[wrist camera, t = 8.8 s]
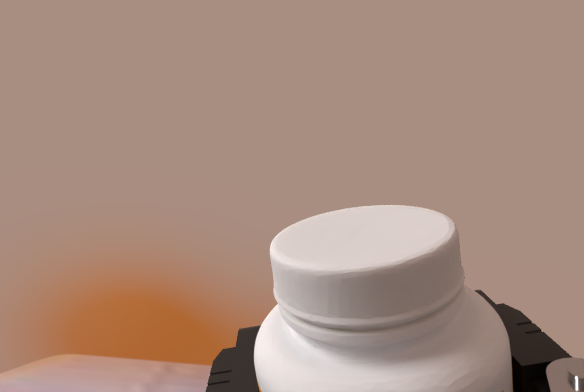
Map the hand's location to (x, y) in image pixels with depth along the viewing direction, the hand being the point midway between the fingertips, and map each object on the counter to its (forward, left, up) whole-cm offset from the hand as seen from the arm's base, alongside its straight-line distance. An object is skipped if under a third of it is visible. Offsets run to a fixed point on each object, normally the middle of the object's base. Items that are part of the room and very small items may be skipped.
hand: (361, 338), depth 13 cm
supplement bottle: (+2, -2, -6) cm, 7 cm away
